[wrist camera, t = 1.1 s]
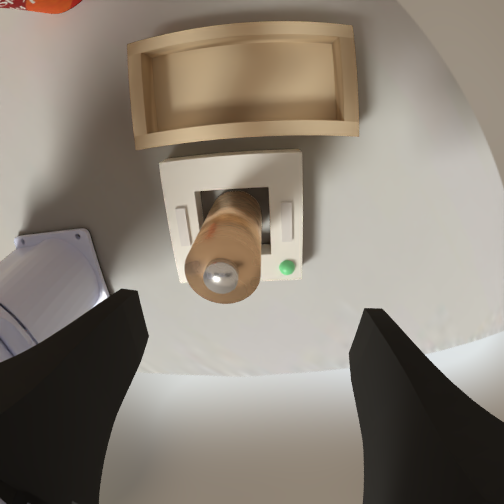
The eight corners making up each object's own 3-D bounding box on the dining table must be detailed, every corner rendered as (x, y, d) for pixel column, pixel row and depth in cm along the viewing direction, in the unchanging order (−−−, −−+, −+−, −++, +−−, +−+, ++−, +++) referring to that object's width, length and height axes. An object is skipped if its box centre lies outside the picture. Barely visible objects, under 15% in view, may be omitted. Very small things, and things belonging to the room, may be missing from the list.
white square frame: (185, 271, 20) (178, 287, 18) (166, 158, 16) (155, 164, 15) (299, 267, 20) (302, 283, 18) (298, 149, 16) (303, 153, 14)
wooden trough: (150, 145, 16) (135, 150, 14) (142, 50, 13) (127, 44, 11) (347, 133, 15) (359, 136, 13) (342, 34, 12) (352, 25, 11)
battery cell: (214, 238, 19) (189, 310, 12) (208, 192, 17) (175, 244, 11) (262, 236, 19) (262, 309, 12) (260, 189, 17) (258, 241, 11)
